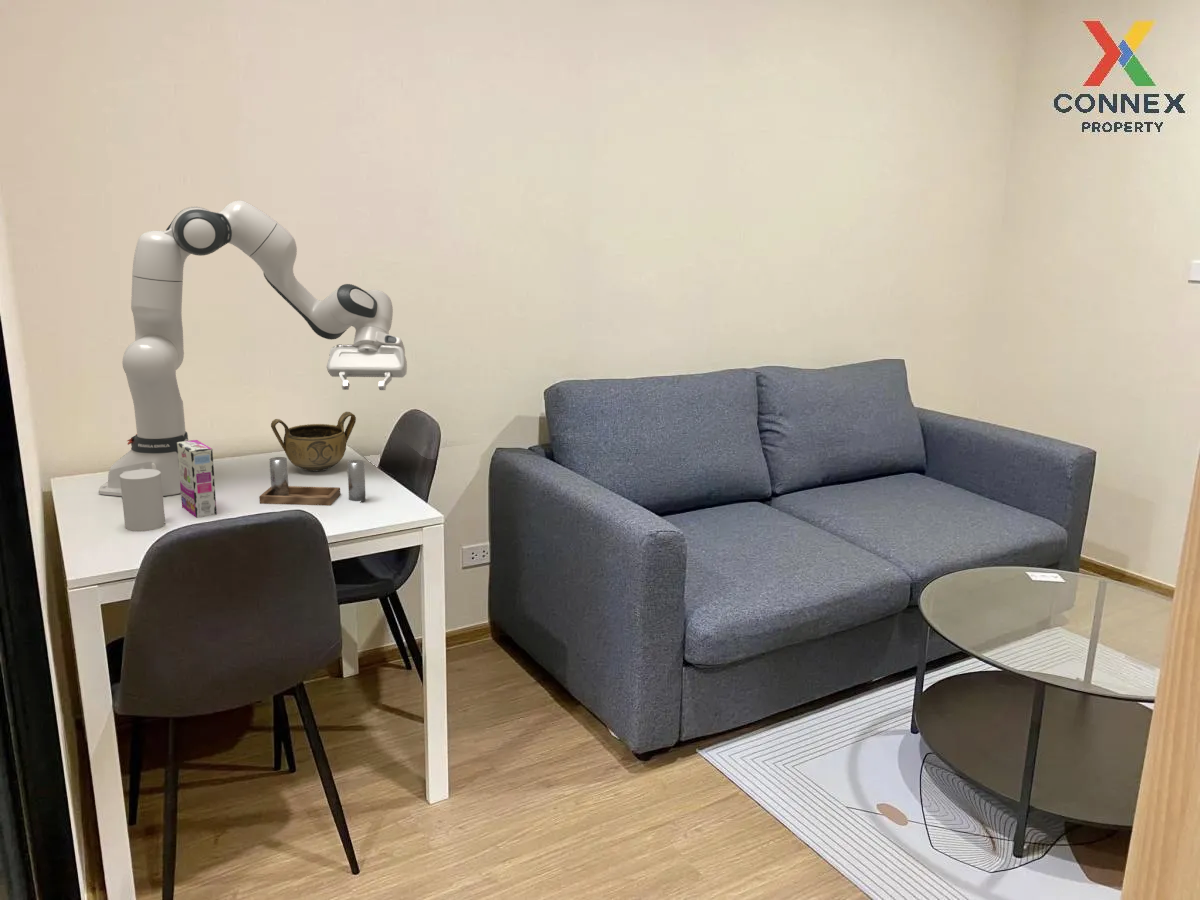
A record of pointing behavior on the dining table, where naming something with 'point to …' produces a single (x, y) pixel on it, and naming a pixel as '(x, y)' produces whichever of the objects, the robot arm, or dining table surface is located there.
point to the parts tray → (303, 496)
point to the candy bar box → (197, 478)
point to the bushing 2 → (356, 480)
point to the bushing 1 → (279, 476)
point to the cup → (142, 499)
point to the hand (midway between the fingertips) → (363, 388)
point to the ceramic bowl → (315, 443)
